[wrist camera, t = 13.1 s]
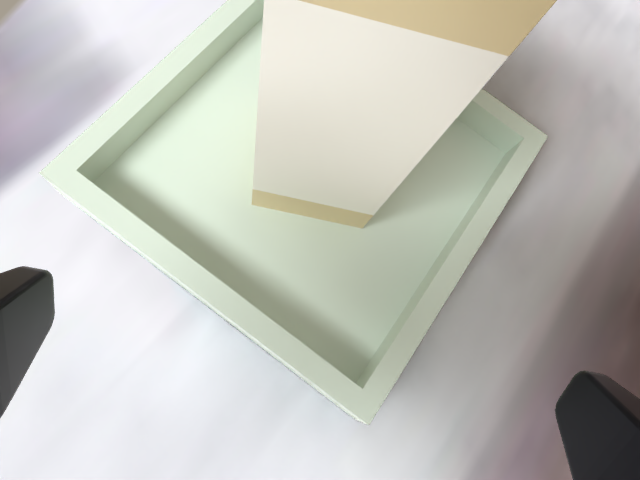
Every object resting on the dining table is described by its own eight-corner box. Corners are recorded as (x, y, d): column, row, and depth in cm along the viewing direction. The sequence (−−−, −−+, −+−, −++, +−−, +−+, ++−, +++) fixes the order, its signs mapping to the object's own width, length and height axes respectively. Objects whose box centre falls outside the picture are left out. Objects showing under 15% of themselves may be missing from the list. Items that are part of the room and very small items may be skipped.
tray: (354, 419, 17) (368, 425, 15) (61, 194, 17) (39, 172, 15) (520, 157, 21) (548, 136, 19) (282, -17, 21) (286, -54, 19)
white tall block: (362, 228, 18) (571, -17, 7) (251, 204, 18) (269, -104, 6) (376, 131, 19) (570, -214, 8) (273, 106, 19) (323, -298, 7)
